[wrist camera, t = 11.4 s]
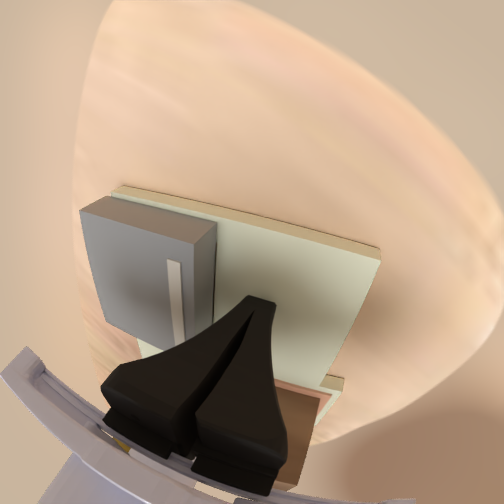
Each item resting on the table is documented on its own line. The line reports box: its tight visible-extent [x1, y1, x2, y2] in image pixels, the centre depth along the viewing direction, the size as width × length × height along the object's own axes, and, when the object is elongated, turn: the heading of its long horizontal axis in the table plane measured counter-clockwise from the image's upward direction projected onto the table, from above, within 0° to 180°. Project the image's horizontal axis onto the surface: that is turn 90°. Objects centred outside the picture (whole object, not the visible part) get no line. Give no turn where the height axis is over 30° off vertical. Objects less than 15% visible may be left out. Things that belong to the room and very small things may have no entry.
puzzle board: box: [111, 186, 381, 426], centre depth 15 cm, size 14×14×1 cm
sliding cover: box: [79, 196, 217, 351], centre depth 13 cm, size 8×6×2 cm
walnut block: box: [272, 386, 320, 491], centre depth 14 cm, size 4×4×6 cm
